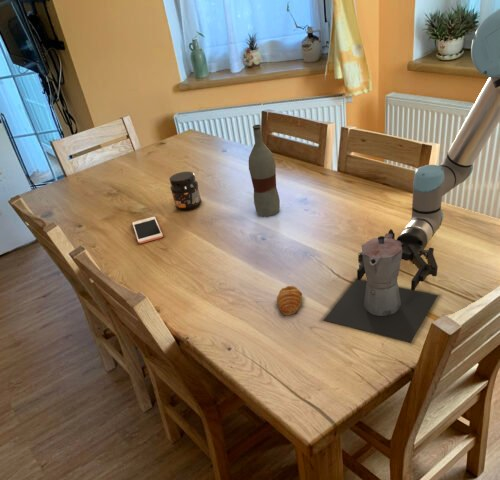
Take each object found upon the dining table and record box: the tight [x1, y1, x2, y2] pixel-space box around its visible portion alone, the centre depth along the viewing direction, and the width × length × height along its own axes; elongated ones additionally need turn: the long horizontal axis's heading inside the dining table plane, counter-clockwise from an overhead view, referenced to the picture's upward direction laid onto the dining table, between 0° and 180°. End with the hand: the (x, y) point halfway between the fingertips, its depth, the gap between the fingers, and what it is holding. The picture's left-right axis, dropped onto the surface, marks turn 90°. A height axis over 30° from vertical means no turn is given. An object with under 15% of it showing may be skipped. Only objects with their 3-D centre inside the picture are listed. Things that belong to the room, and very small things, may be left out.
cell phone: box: [132, 216, 164, 245], centre depth 180 cm, size 9×18×1 cm, turn 18°
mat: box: [323, 278, 439, 344], centre depth 124 cm, size 22×20×1 cm
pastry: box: [276, 285, 303, 316], centre depth 130 cm, size 9×7×4 cm
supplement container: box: [169, 171, 202, 212], centre depth 189 cm, size 10×10×12 cm
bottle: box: [248, 124, 281, 218], centre depth 169 cm, size 9×9×30 cm
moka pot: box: [361, 228, 402, 316], centre depth 119 cm, size 10×15×20 cm, turn 154°
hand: (384, 280), depth 121 cm, fingers open, 13 cm apart
